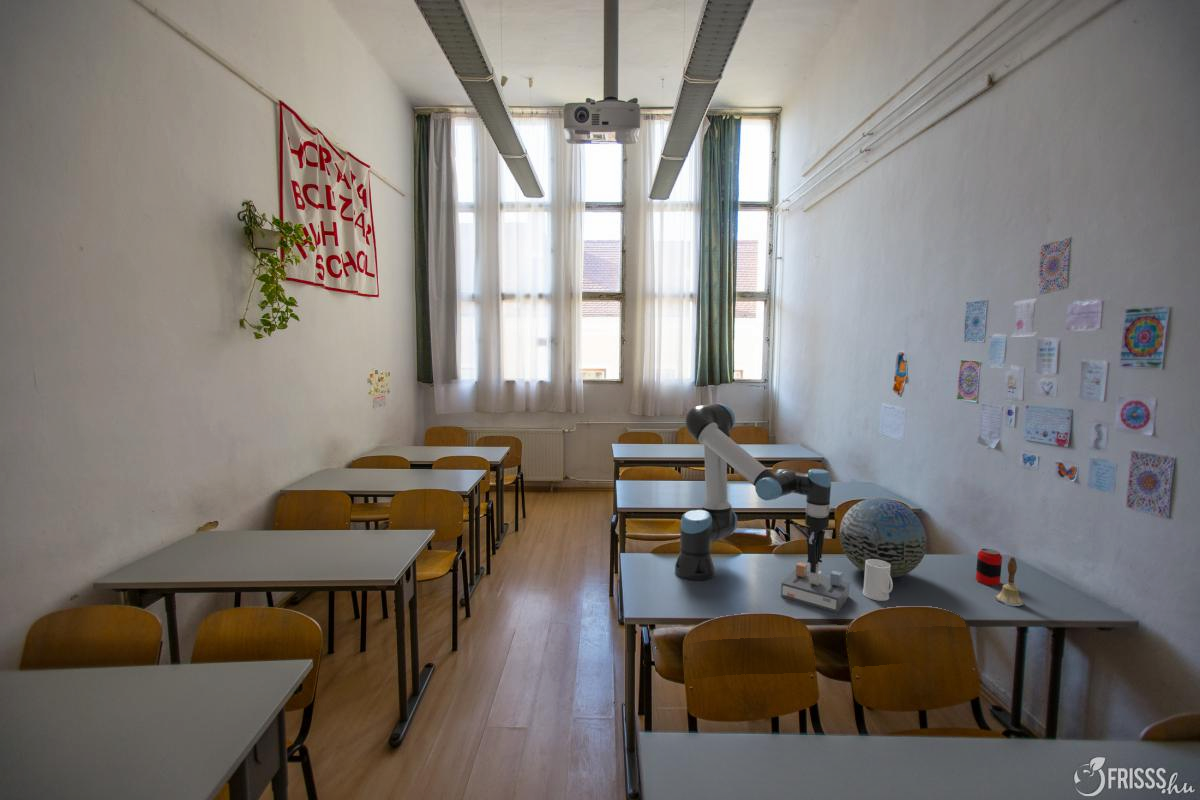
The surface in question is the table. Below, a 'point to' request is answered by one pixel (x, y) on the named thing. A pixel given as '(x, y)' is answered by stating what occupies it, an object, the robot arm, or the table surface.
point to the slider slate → (836, 578)
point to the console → (815, 592)
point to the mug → (877, 580)
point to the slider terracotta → (801, 569)
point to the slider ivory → (818, 579)
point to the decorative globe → (883, 535)
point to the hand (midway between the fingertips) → (813, 580)
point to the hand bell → (1010, 586)
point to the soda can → (989, 567)
